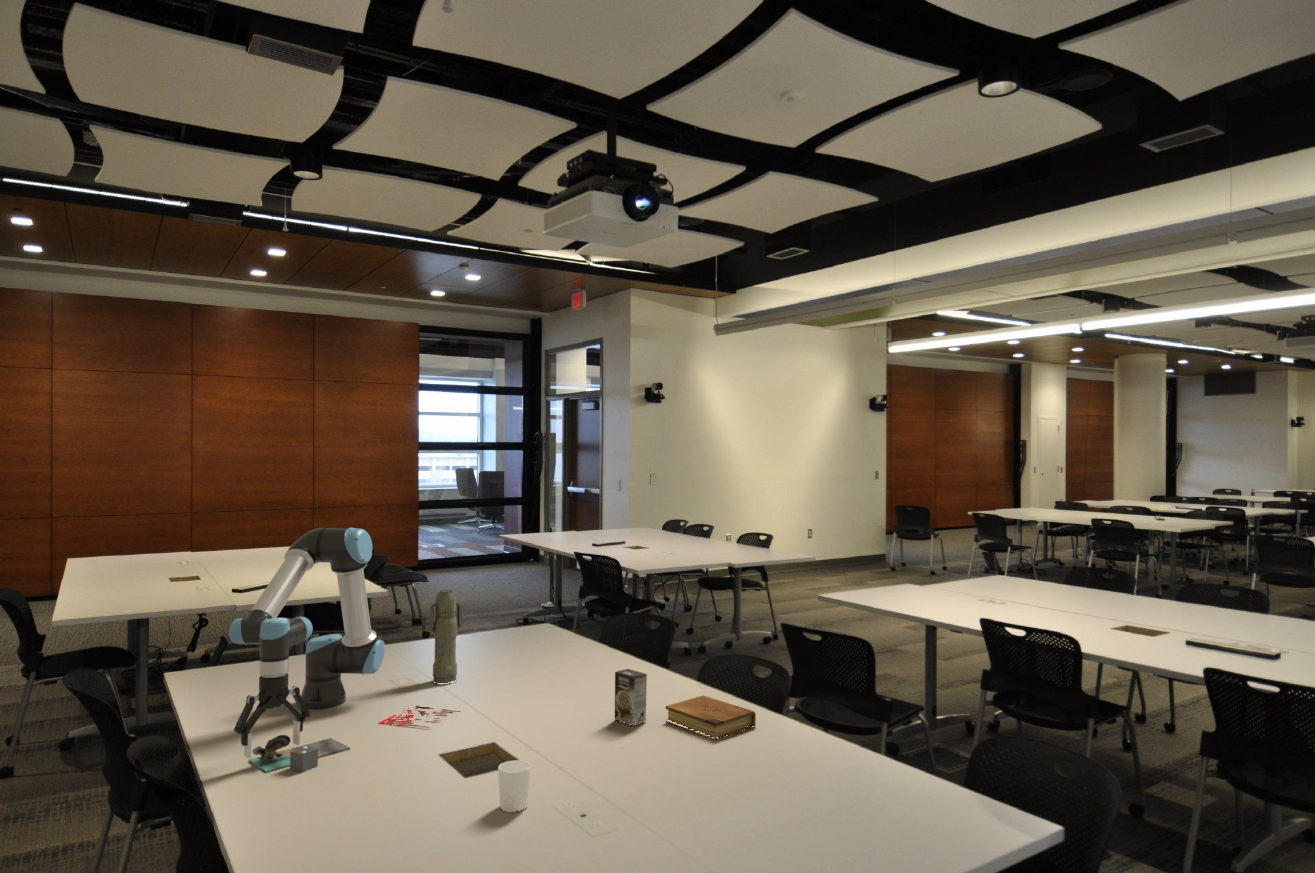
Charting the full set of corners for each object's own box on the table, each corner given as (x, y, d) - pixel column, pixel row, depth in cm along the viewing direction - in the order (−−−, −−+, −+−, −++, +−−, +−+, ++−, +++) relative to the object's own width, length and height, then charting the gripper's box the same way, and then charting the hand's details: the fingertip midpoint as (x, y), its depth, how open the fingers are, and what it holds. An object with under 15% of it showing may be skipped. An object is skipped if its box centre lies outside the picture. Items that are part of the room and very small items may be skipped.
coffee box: (613, 720, 262) (614, 671, 262) (627, 716, 266) (627, 667, 267) (633, 727, 256) (633, 676, 256) (647, 722, 260) (647, 673, 261)
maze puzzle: (464, 712, 271) (464, 710, 271) (431, 731, 251) (431, 729, 252) (414, 706, 277) (414, 704, 277) (378, 724, 258) (378, 722, 258)
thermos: (464, 681, 307) (465, 590, 308) (435, 687, 299) (436, 594, 300) (453, 676, 314) (455, 588, 315) (425, 681, 306) (426, 591, 307)
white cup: (499, 800, 200) (500, 760, 200) (531, 799, 201) (531, 759, 201) (496, 814, 192) (496, 772, 192) (528, 813, 193) (529, 771, 193)
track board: (330, 739, 243) (330, 737, 243) (349, 749, 235) (350, 747, 235) (248, 761, 225) (248, 759, 225) (266, 772, 217) (266, 770, 217)
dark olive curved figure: (280, 762, 220) (297, 745, 229) (265, 742, 219) (282, 725, 228) (259, 775, 221) (277, 757, 230) (244, 755, 220) (262, 738, 229)
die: (305, 763, 224) (305, 745, 224) (317, 766, 222) (317, 748, 222) (290, 769, 219) (290, 750, 219) (302, 772, 217) (302, 753, 217)
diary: (755, 728, 257) (755, 710, 257) (715, 742, 244) (716, 723, 244) (704, 711, 274) (705, 694, 274) (665, 722, 261) (665, 705, 261)
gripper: (311, 663, 236) (309, 735, 236) (221, 680, 218) (220, 758, 217) (322, 668, 231) (321, 741, 231) (232, 685, 213) (230, 765, 212)
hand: (272, 749), depth 224 cm, fingers open, 13 cm apart
